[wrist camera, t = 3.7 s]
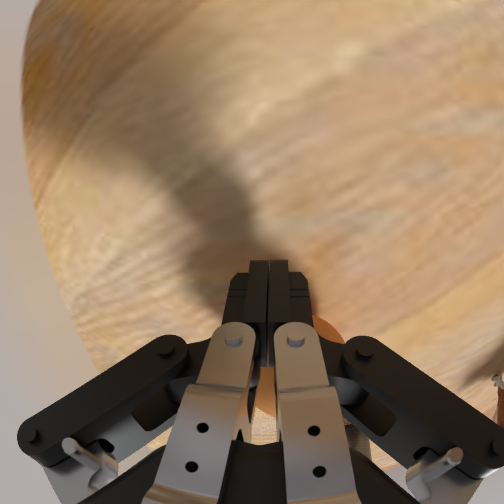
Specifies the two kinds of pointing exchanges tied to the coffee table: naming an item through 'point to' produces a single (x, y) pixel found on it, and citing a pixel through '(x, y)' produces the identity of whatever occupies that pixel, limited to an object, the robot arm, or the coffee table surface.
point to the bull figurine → (499, 401)
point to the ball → (267, 373)
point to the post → (358, 440)
